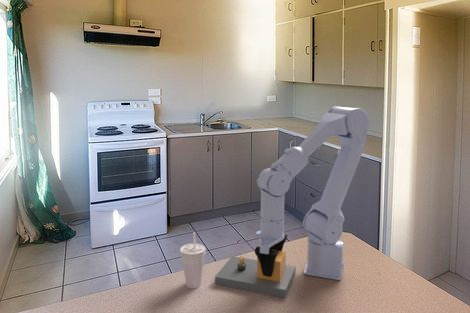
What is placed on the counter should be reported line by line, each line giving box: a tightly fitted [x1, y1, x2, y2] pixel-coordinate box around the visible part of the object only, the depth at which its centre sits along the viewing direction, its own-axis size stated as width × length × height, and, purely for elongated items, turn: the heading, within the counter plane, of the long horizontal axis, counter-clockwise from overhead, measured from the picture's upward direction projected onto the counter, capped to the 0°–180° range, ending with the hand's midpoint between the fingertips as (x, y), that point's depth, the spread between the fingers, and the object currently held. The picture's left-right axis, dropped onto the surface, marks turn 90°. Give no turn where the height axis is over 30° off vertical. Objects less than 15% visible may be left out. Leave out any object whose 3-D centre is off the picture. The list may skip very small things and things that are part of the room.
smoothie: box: [179, 231, 207, 289], centre depth 92 cm, size 6×6×14 cm
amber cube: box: [256, 250, 287, 282], centre depth 93 cm, size 6×6×5 cm
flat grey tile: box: [214, 255, 297, 298], centre depth 95 cm, size 18×12×5 cm, turn 70°
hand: (271, 268), depth 93 cm, fingers open, 7 cm apart
